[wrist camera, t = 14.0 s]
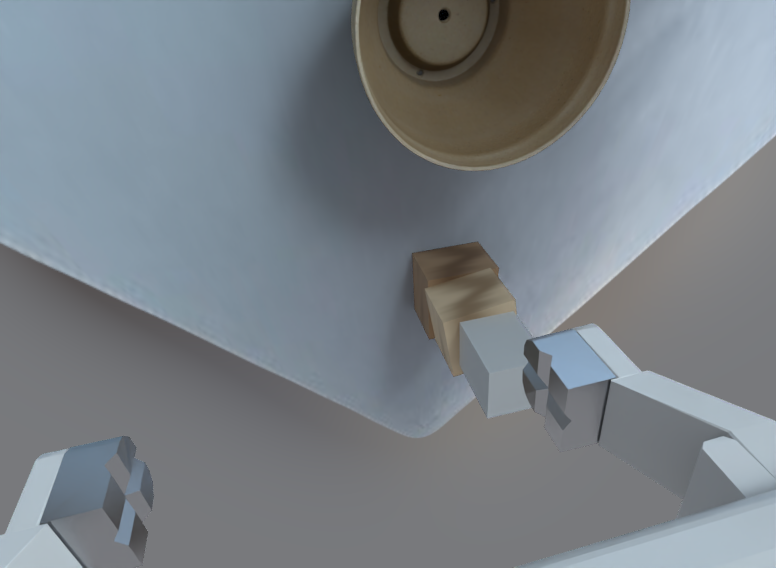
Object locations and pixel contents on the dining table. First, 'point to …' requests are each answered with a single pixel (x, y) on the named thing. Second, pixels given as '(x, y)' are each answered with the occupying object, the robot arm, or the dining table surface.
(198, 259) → the dining table surface
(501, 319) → the grey block
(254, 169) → the dining table surface
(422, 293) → the walnut block
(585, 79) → the planter bowl
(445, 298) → the oak block
